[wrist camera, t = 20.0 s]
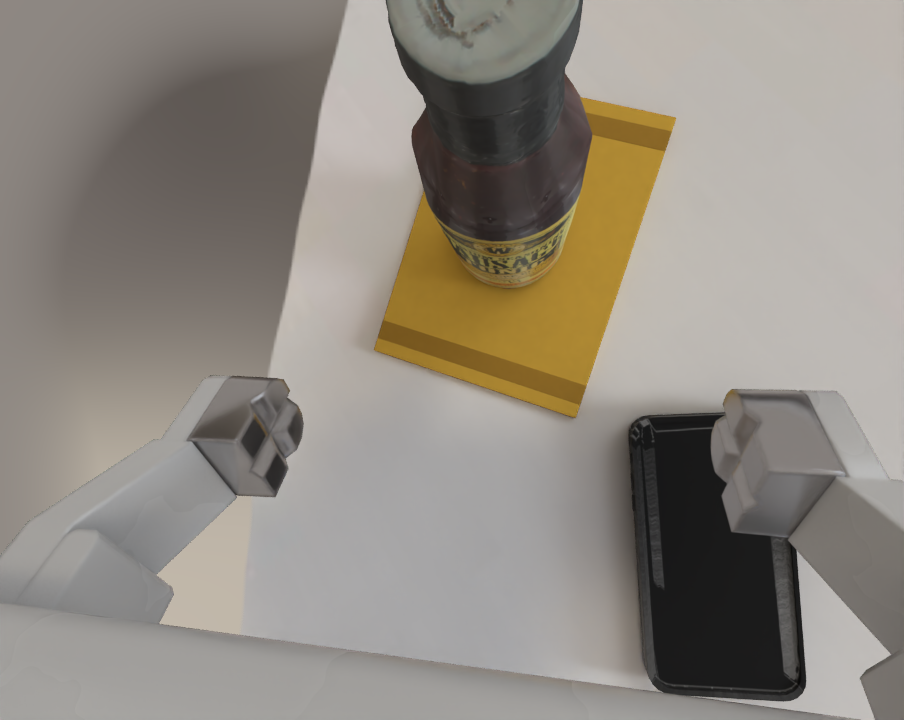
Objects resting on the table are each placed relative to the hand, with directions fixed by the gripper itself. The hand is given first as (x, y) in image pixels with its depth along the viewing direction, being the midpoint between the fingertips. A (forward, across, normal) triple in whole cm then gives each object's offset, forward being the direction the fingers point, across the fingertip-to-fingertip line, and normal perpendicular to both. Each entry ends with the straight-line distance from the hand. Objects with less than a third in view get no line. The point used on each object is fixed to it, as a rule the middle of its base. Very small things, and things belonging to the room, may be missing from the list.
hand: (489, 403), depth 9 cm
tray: (+20, +1, +9) cm, 22 cm away
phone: (+8, -10, +21) cm, 25 cm away
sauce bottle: (+20, +1, +9) cm, 22 cm away
